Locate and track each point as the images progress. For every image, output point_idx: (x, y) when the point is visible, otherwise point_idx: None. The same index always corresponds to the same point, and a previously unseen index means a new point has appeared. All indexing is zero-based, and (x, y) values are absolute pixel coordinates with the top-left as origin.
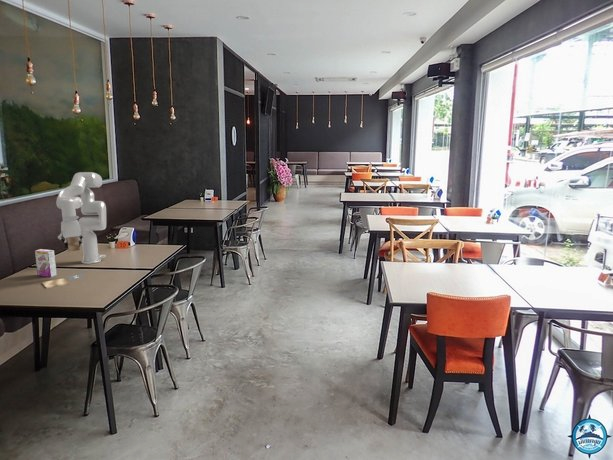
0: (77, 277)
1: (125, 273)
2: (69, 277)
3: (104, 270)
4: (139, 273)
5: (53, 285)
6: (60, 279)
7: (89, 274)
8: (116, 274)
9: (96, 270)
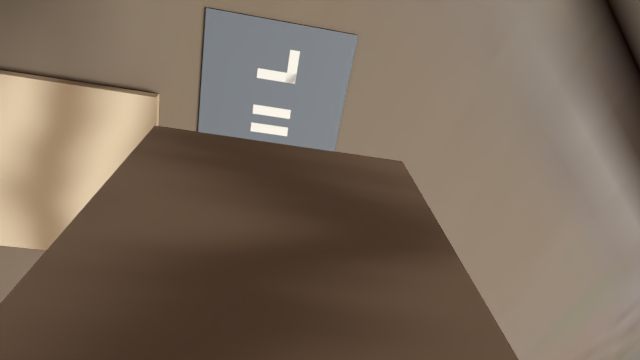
0: (275, 129)
1: (568, 289)
2: (221, 69)
3: (555, 86)
4: (609, 346)
5: (30, 241)
6: (118, 111)
7: (397, 109)
8: (518, 268)
9: (519, 21)
